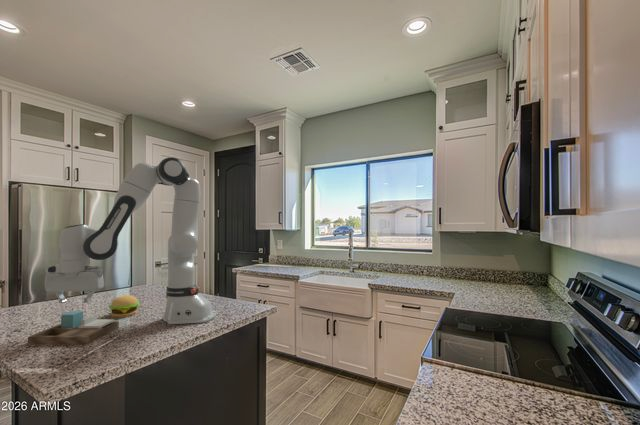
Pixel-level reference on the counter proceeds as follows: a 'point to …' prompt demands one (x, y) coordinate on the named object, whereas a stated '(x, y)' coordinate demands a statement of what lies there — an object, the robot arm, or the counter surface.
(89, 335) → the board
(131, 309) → the hamburger
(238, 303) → the counter surface
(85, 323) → the cover
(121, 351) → the counter surface
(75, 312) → the block
